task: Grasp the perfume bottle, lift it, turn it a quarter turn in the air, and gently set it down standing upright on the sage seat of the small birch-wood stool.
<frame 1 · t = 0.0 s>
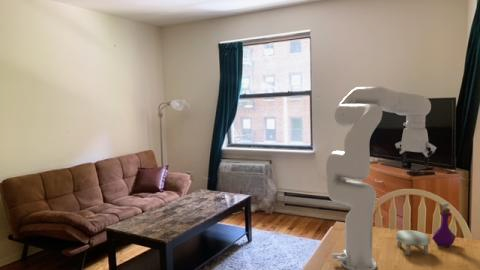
hand: (414, 163, 153), 31 cm above the table, tool pointing down, fingers open, 9 cm apart
stool: (412, 250, 138), on the table
perfume bottle: (443, 245, 142), on the table
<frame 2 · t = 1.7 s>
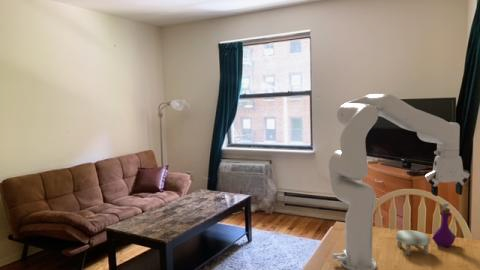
hand: (446, 194, 140), 21 cm above the table, tool pointing down, fingers open, 9 cm apart
nothing on the table moved.
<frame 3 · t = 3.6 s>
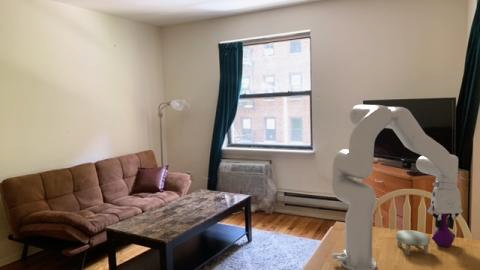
hand: (444, 227, 141), 7 cm above the table, tool pointing down, fingers closed on perfume bottle, 4 cm apart
perfume bottle: (443, 244, 142), on the table, touching gripper
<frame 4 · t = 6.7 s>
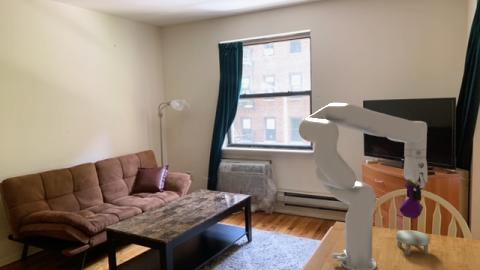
hand: (413, 198, 136), 22 cm above the table, tool pointing down, fingers closed on perfume bottle, 3 cm apart
perfume bottle: (410, 215, 138), point 14 cm above the table, touching gripper
when the fingers open (14 cm above the table, at t = 8.6 s): perfume bottle stays where it is, resting on stool.
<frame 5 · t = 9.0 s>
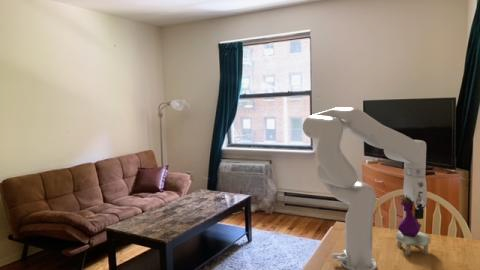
hand: (413, 214, 136), 15 cm above the table, tool pointing down, fingers open, 8 cm apart
perfume bottle: (409, 234, 139), point 6 cm above the table, touching stool
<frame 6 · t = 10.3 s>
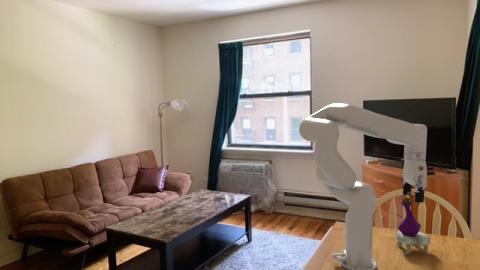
hand: (412, 198, 135), 22 cm above the table, tool pointing down, fingers open, 9 cm apart
nothing on the table moved.
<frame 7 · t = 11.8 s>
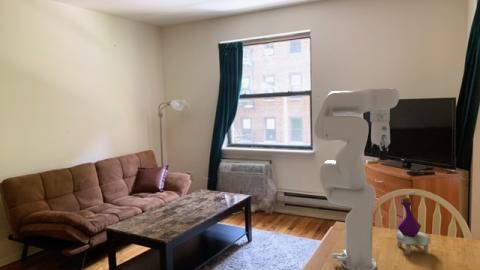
hand: (379, 157, 147), 36 cm above the table, tool pointing down, fingers open, 9 cm apart
nothing on the table moved.
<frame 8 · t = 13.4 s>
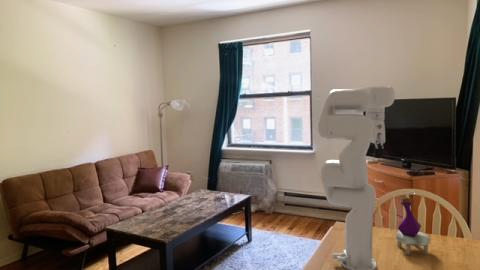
hand: (374, 155, 149), 36 cm above the table, tool pointing down, fingers open, 9 cm apart
nothing on the table moved.
at the end: perfume bottle 1.6 cm off-centre on the stool, point 5.8 cm above the stool's base; perfume bottle tilted 0°; the gripper is holding nothing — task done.
